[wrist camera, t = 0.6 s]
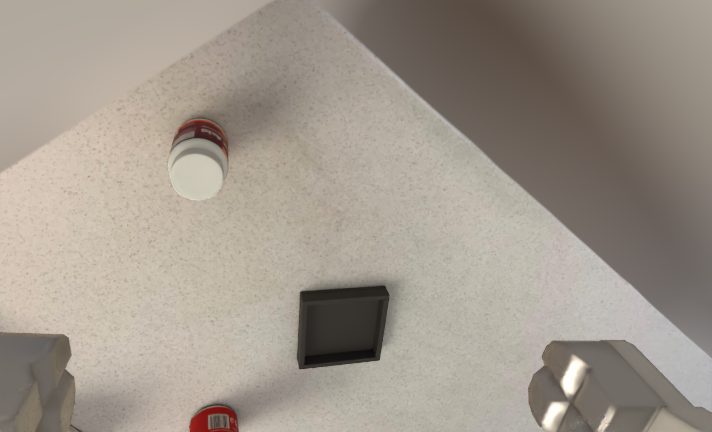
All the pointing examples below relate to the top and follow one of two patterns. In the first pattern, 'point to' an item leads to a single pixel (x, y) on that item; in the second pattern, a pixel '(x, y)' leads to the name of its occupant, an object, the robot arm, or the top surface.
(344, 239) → the top surface
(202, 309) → the top surface
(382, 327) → the dark square tray
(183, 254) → the top surface
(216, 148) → the pill bottle
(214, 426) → the beverage can
